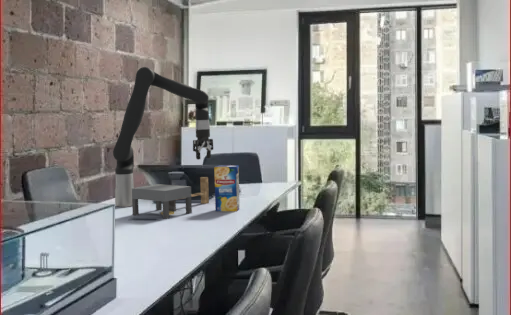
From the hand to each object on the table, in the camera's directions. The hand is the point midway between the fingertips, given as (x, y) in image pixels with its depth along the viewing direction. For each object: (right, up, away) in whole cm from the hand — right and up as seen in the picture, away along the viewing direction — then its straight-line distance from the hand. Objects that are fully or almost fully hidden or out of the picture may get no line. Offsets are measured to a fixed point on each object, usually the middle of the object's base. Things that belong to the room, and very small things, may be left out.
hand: (203, 158), depth 310 cm
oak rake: (-7, -25, -9) cm, 27 cm away
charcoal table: (-17, -27, -30) cm, 44 cm away
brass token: (-15, -27, -31) cm, 43 cm away
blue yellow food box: (+14, -26, -23) cm, 37 cm away
